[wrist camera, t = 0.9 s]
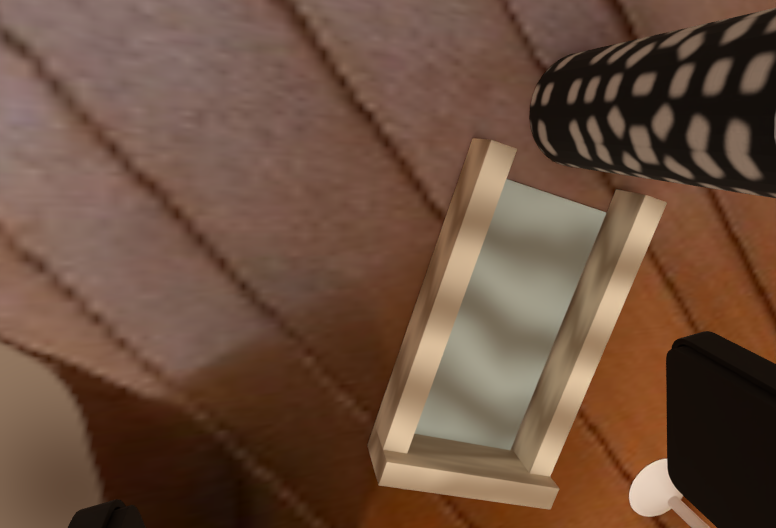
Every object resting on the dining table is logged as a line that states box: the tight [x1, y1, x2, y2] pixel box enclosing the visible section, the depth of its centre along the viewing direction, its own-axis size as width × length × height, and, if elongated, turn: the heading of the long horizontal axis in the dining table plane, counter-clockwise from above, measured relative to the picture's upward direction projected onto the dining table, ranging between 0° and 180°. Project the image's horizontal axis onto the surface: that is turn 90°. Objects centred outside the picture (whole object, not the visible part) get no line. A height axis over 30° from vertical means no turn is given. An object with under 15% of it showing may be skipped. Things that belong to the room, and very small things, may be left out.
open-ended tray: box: [367, 138, 667, 509], centre depth 40 cm, size 26×15×5 cm, turn 162°
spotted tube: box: [530, 8, 776, 198], centre depth 30 cm, size 8×8×20 cm
